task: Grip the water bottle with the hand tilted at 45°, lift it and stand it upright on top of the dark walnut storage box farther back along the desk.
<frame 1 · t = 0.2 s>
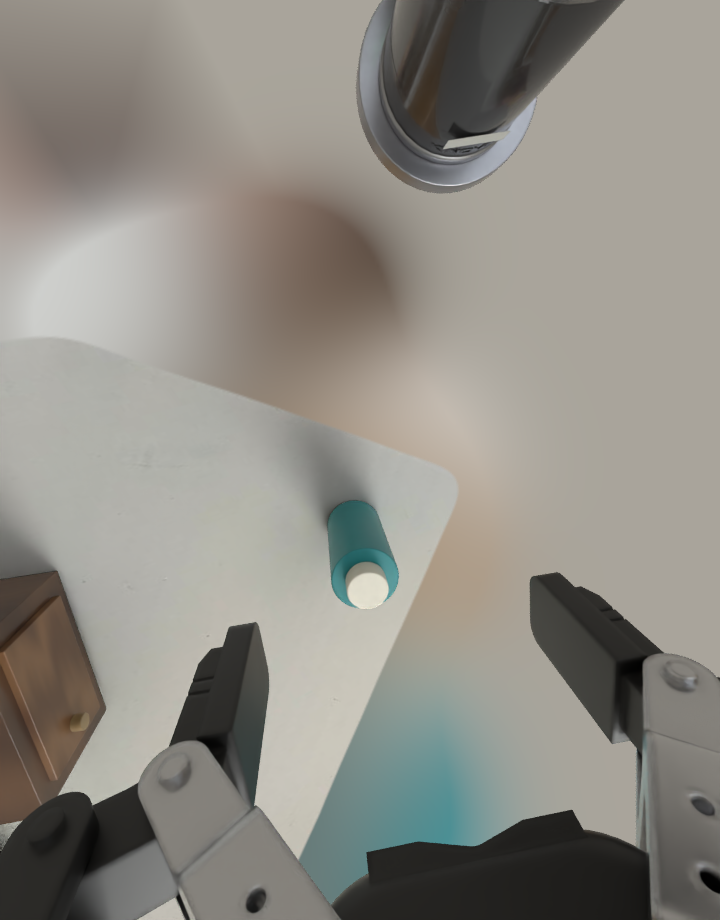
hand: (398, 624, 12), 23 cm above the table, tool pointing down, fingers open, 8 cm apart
storage box: (9, 655, 36), on the table
water bottle: (353, 524, 36), on the table
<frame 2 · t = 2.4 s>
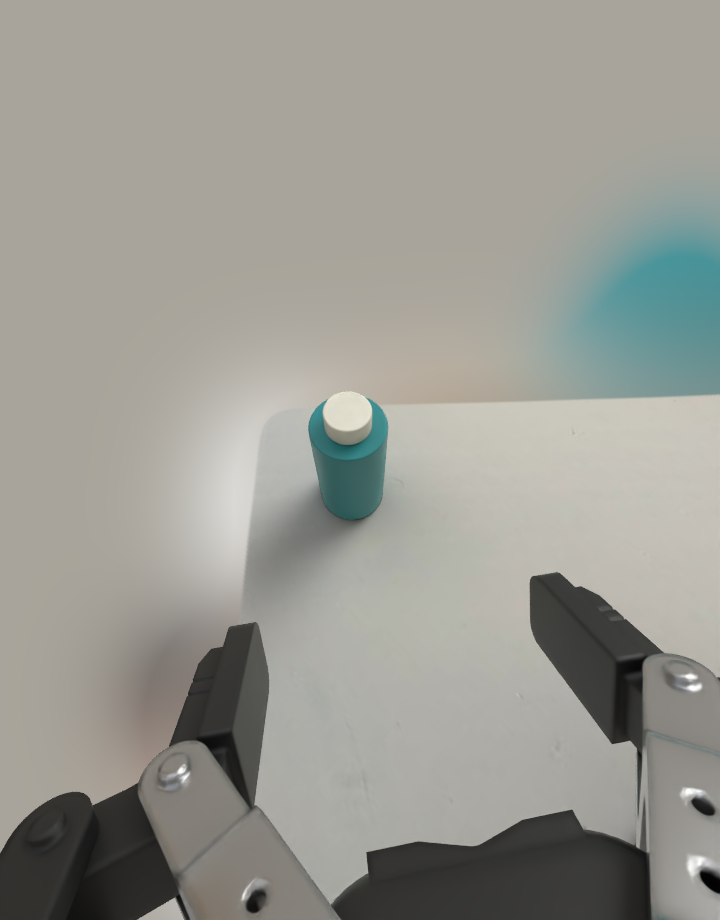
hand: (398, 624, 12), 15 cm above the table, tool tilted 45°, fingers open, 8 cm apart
water bottle: (352, 491, 31), on the table
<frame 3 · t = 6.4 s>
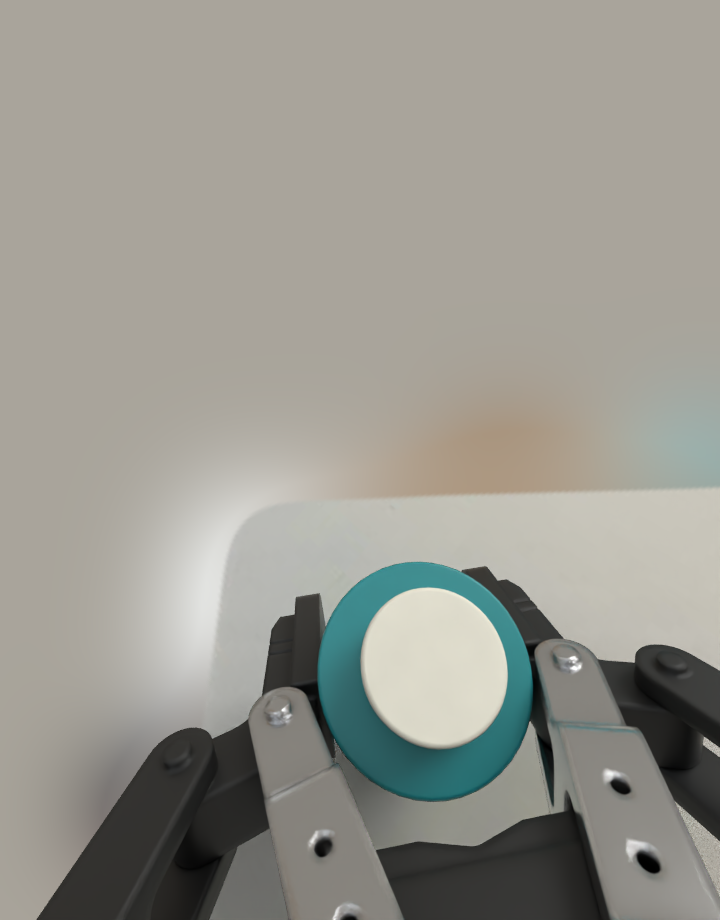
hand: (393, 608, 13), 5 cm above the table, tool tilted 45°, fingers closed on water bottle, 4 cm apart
water bottle: (396, 683, 16), on the table, touching gripper
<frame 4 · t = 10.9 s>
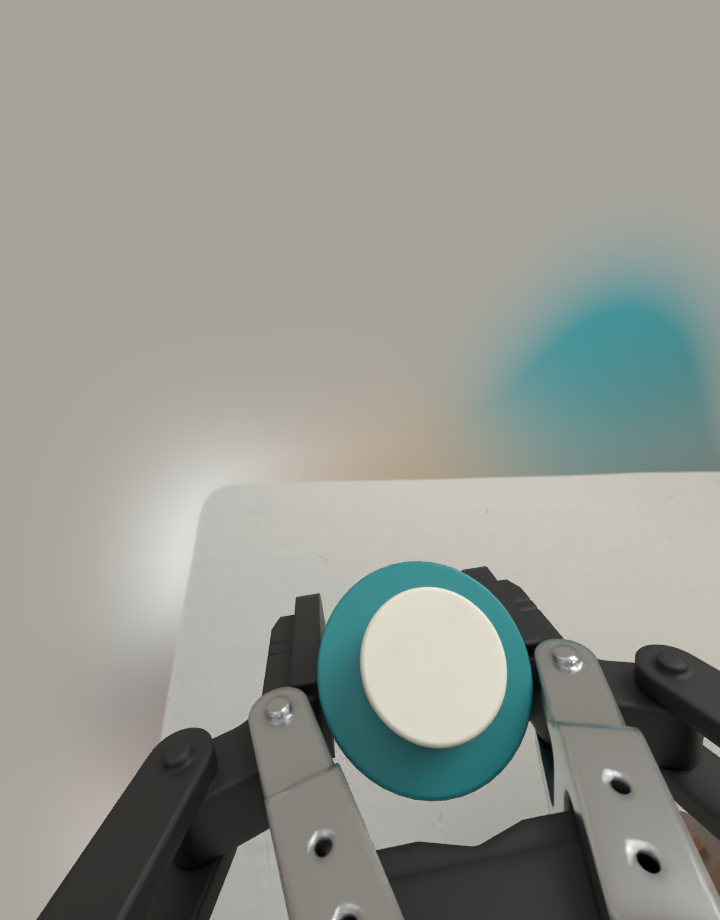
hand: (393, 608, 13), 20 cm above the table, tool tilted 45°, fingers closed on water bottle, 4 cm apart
water bottle: (396, 682, 16), point 16 cm above the table, touching gripper
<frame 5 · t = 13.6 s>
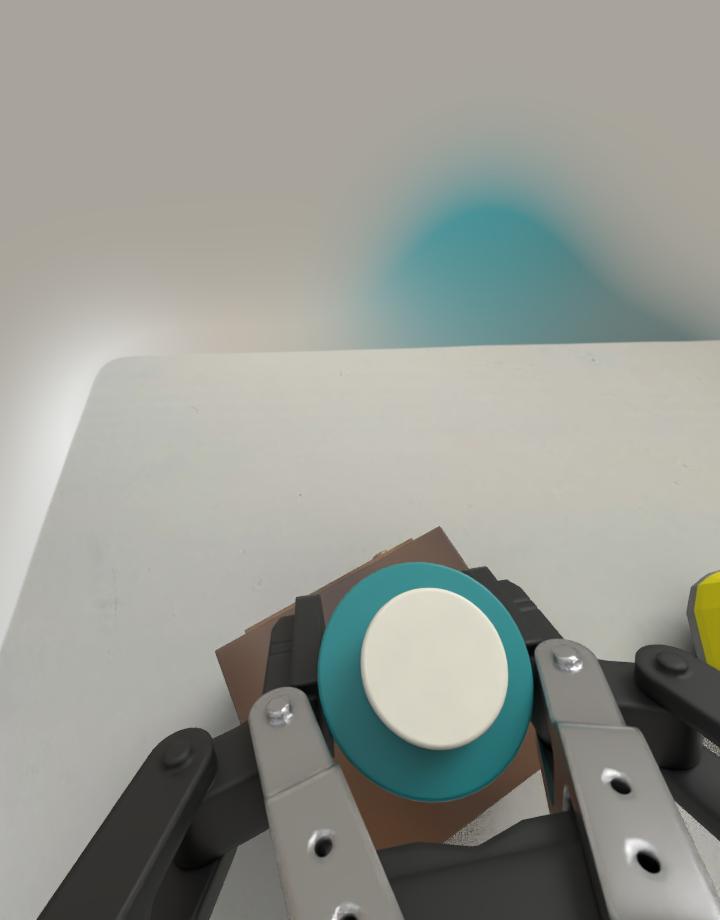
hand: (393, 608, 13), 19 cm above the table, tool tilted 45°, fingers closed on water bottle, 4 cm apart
storage box: (383, 693, 29), on the table
water bottle: (397, 683, 16), point 15 cm above the table, touching gripper
when the fingers open (14 cm above the table, at t = 15.6 s): water bottle stays where it is, resting on storage box.
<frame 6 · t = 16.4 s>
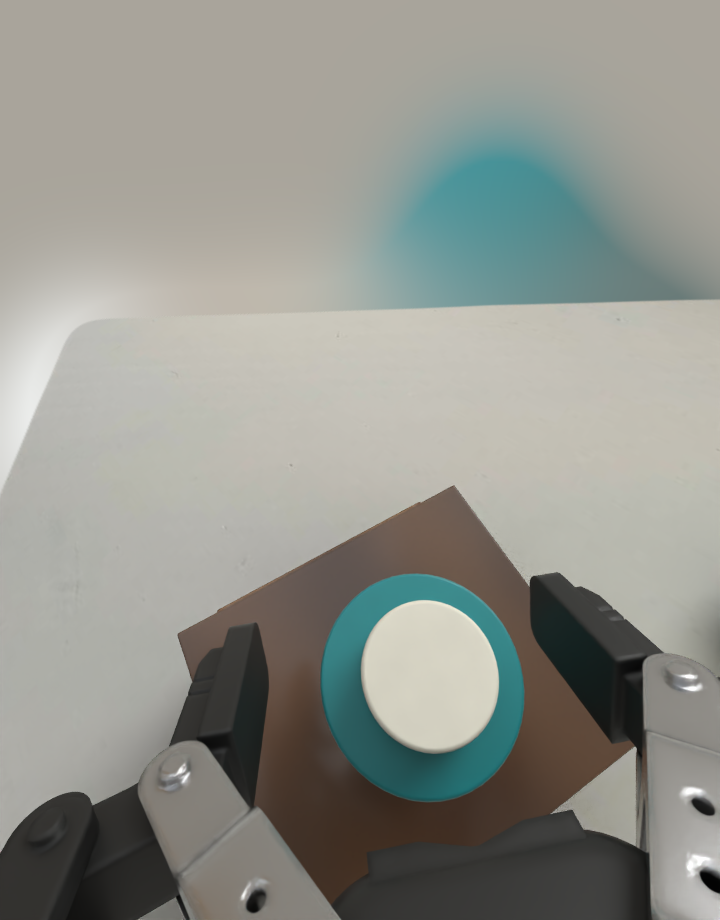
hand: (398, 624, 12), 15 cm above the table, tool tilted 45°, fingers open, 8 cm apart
storage box: (386, 689, 25), on the table
water bottle: (397, 686, 17), point 9 cm above the table, touching storage box
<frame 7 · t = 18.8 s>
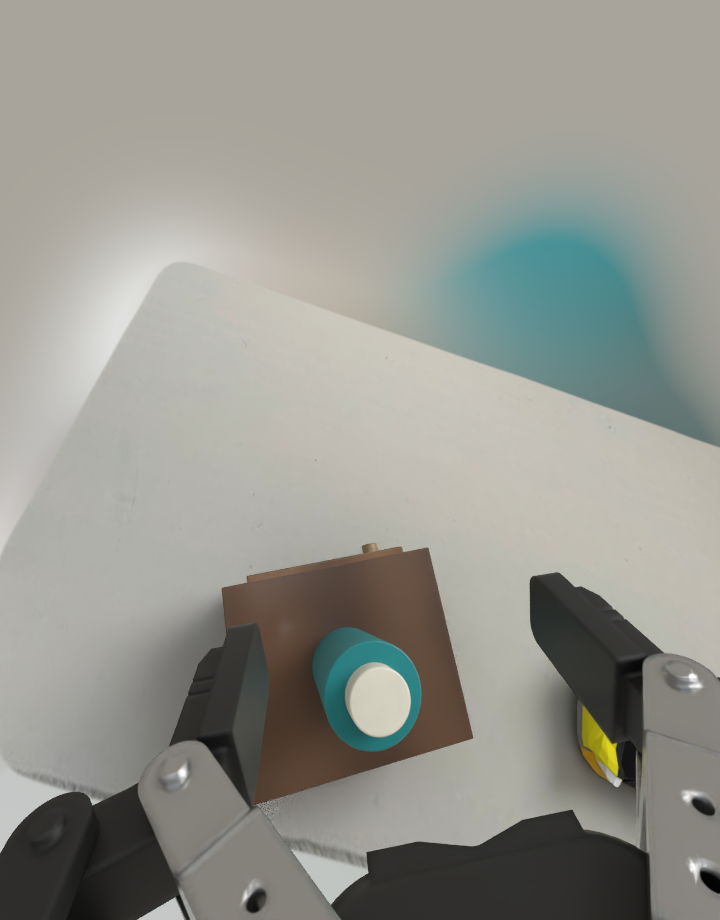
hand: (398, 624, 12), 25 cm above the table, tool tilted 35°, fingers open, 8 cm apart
multicoloured piece: (634, 725, 38), on the table
storage box: (332, 646, 35), on the table
water bottle: (347, 664, 27), point 9 cm above the table, touching storage box
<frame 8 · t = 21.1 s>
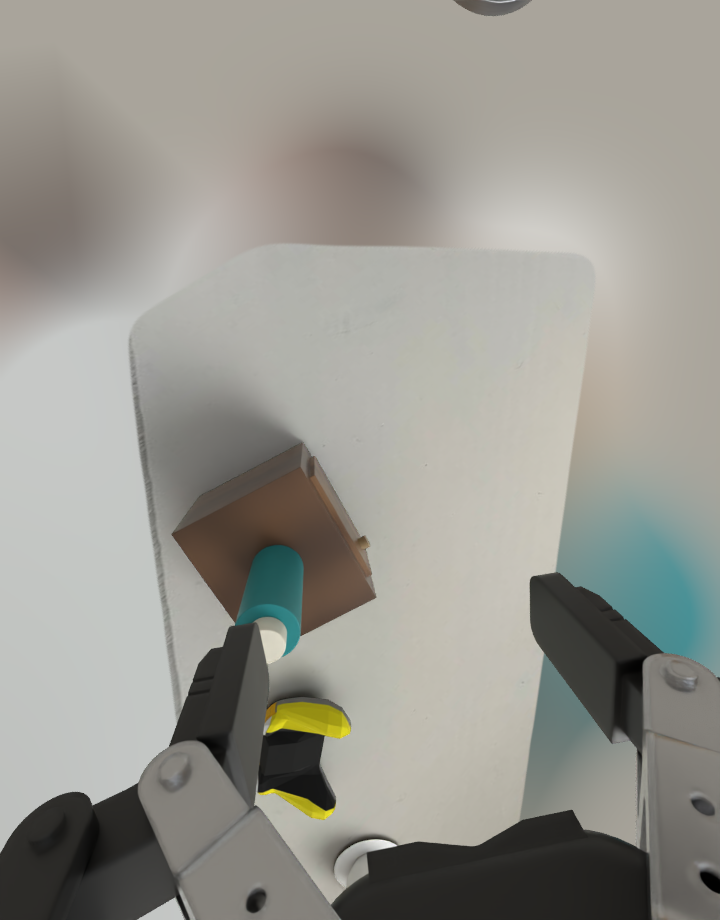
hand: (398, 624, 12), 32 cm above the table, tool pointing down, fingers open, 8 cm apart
teacup: (369, 860, 60), on the table
multicoloured piece: (301, 731, 53), on the table
storage box: (285, 524, 45), on the table
water bottle: (277, 568, 37), point 9 cm above the table, touching storage box
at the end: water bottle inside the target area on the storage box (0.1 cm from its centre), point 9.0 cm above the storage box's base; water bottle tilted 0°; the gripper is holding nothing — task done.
